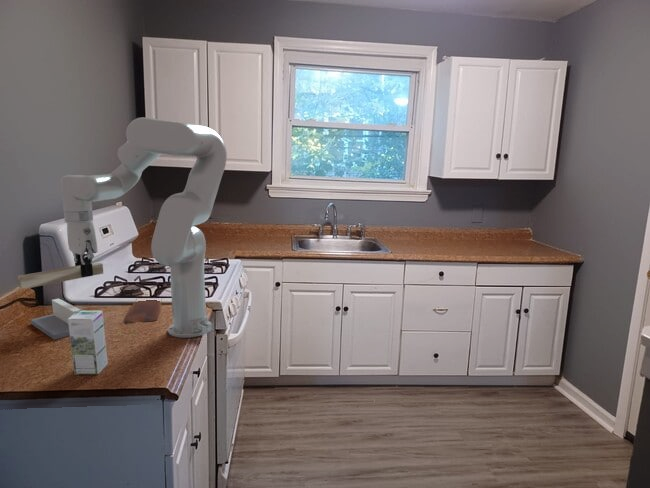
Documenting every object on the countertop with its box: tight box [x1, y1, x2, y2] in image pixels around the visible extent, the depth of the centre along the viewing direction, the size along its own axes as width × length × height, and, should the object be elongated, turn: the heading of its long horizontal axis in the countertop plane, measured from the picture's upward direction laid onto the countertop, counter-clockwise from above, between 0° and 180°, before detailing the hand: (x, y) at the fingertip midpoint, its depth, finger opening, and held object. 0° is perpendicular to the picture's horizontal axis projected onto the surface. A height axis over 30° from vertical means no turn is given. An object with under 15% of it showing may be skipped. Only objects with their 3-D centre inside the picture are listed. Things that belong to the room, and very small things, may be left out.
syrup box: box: [68, 310, 108, 376], centre depth 106 cm, size 6×6×14 cm
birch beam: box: [17, 261, 104, 290], centre depth 132 cm, size 3×22×3 cm, turn 141°
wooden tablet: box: [124, 300, 162, 324], centre depth 150 cm, size 27×10×2 cm, turn 15°
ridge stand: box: [30, 297, 105, 341], centre depth 135 cm, size 18×14×6 cm
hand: (84, 274), depth 137 cm, fingers closed on birch beam, 3 cm apart
